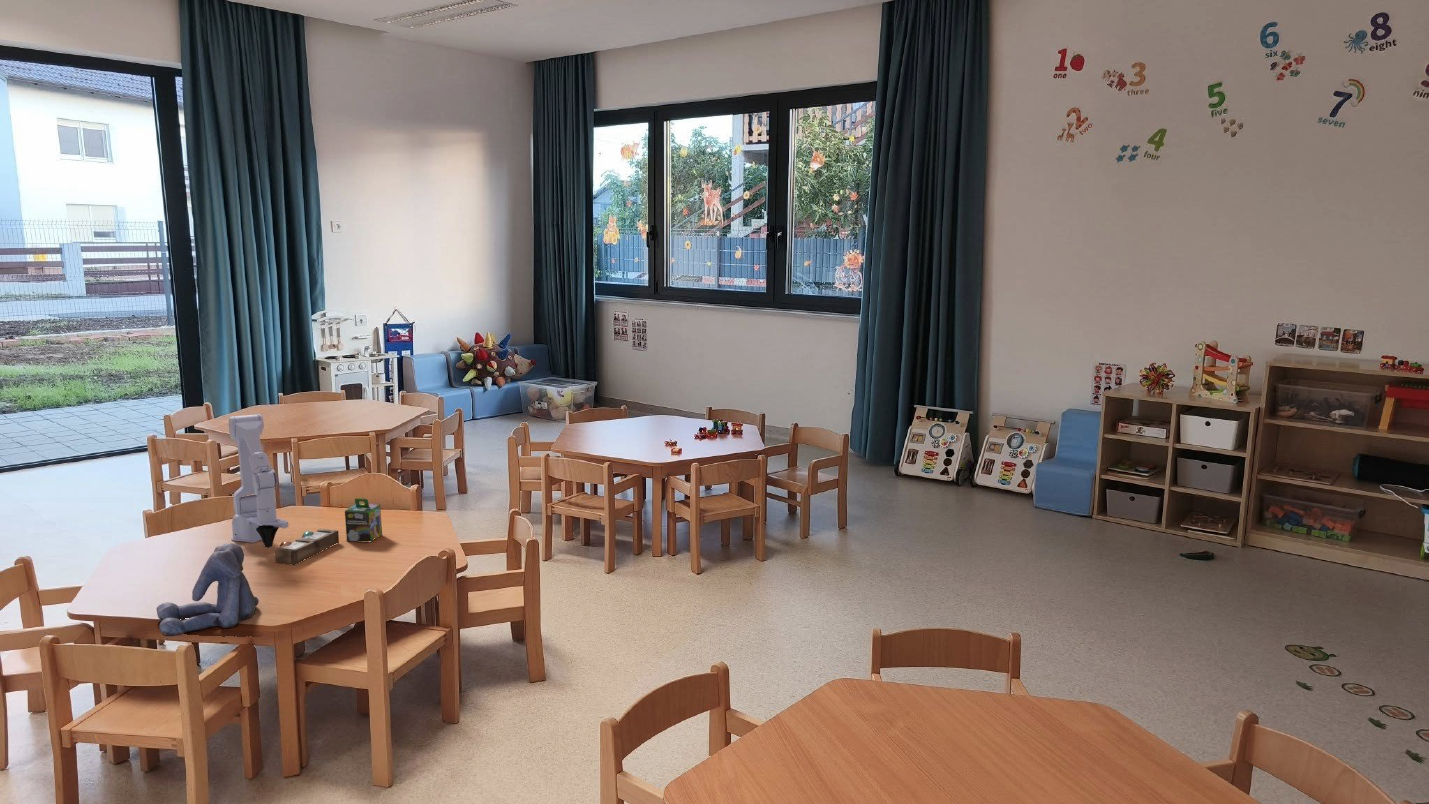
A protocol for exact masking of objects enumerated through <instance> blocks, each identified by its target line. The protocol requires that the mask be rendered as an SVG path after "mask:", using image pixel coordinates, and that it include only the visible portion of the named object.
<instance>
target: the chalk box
mask: <svg viewBox="0 0 1429 804" xmlns="http://www.w3.org/2000/svg"><path fill="white" fill-rule="evenodd" d="M360 502H362V503H360ZM354 503H355V504H353V505H351V506H350V507H349V508H347V509H345V510H344V519H345V532H346V533H345V535H346V537H345V538H346V541H347V540H348V541H347V542H354V541H372V540H373V539H374V538H376V539H378V538H379V537H380V535H381V534H382V535H383V526H382V511H381V510H382V509H381V504H380V503H369V500H368V499H367V498H357V497H356V498H354ZM382 535H381V536H382ZM378 536H379V537H378ZM377 537H378V538H377ZM373 541H374V540H373ZM373 541H372V542H373Z"/></svg>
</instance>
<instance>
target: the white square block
mask: <svg viewBox="0 0 1429 804" xmlns="http://www.w3.org/2000/svg"><path fill="white" fill-rule="evenodd" d="M305 544H307V543H303V542H295V541H294V542H291V541H286V540H285V541H284V540H283V541H282V542H281V543H280V545H279V546H278V548H285V549H296V548H298V547H300V546H303V545H305Z"/></svg>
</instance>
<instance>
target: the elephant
mask: <svg viewBox="0 0 1429 804" xmlns="http://www.w3.org/2000/svg"><path fill="white" fill-rule="evenodd" d="M244 559H245V552H244V550H243V548H242V546H241V545H239V544H237V543H233V542H228V543H224V544H222V545H218V546H216V547H215V548H214V550H213V552H212V553H211V555H209V558H208V559H207V560H206V562H205V564H204V566H203V568H202V569H201V572H200V573H199V576H198V578H197V580H196V582H195V584H194V587H193V589H192V591H191V592H192V593H191V594H192V596H191V597H192V599H191V600H192V601H194V602H191V603H187V604H182V605H180V606H179V605H178V604H175V603H173V602H164V603H161V604H159V605H157V607H156V608H155V609H156V613H157V614H156V615H157V617H158V619H159V621H161V622H160V623H159V631H160V633H161V634H162V636H163V637H177V636H182V635H184V634H187V633H190V632H192V633H193V632H194V631H200V630H205V629H210V628H213V627H214V628H216V627H221V628H223V629H228V628H234V627H235V626H237V625H239V622H240V621H242V620H246V619H248V618H250V617H252V615H254V613H255V609H256V607H257V606H258V605H259V602H260V601H259V598H258V597H257V596H254V593H253V591H252V589H251V586H250V584H249V581H248V579H247V577H246V575H245V573H244V572H243V571H244V565H243V564H244V563H243V562H244ZM214 582H217V592H216V593H217V598H216V604H215V603H210V602H205V601H204V602H203V601H202V602H201V600H202V599H203V597H205V595H206V593H207V591H208V589H209V588H210V586H211V585H212V584H213V583H214ZM185 618H189V619H185ZM180 619H184V620H180Z"/></svg>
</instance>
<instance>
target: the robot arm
mask: <svg viewBox="0 0 1429 804" xmlns="http://www.w3.org/2000/svg"><path fill="white" fill-rule="evenodd" d="M263 431H264V419H263V416H262V414H261V413H257V414H256V413H255V414H247V415H246V414H245V415H237V416H235V415H234V416H233V415H231V416H230V417H229V419H228V432H229V437H230V439H231V440H233V441H235V442H236V445H237V454H238V464H239V465H238V466H239V475H240V483H241V484H240V485H241V486H240V487H239V488H238V489H237V490H235V491H234V493H233V501H232V504H233V505H232V506H233V512H234V516H232V520H231V528H232V538H231V541H234V542H235V541H237V542H244V543H257V542H260V541H262V543H263V546H264V548H267V549H268V548H269V549H270V548H271V547H273V545H274V540H275V536H276V535H277V532H278V530H279V528H281V529H284V530H285V529H287V528H289V521H288V520H283V519H281V518H278V517H277V501H276V488H277V487H278V478H277V474H276V473H277V472H276V470H275V469H274V468H273V467H272V466H271V463H270V459H269V456H268V454H267V453H265V452H263V448H262V443H261V435H262V434H263Z"/></svg>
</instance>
